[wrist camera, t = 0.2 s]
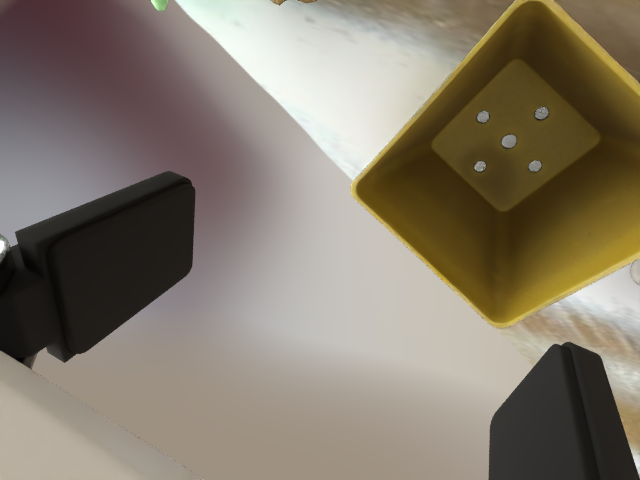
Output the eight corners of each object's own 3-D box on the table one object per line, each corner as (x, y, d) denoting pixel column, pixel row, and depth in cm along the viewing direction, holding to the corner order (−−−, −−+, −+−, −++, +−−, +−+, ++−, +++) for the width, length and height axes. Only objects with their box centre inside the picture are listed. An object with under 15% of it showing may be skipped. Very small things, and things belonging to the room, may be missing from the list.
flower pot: (498, 249, 47) (498, 335, 34) (388, 147, 47) (343, 191, 33) (662, 137, 36) (761, 196, 23) (520, 1, 36) (533, -21, 22)
